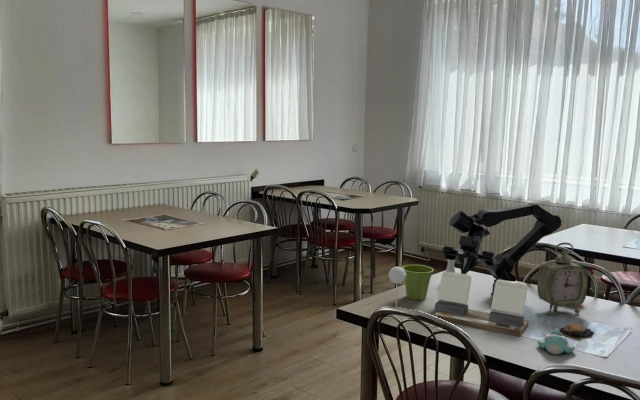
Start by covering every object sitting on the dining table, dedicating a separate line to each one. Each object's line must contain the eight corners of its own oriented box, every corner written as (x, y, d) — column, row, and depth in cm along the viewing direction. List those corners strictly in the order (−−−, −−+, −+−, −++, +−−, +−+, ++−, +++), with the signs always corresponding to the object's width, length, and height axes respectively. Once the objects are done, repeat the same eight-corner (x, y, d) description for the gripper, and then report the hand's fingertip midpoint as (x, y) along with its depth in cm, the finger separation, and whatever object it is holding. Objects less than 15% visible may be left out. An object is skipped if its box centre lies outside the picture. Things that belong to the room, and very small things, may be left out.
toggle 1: (438, 299, 201) (444, 271, 203) (467, 305, 196) (472, 275, 198) (436, 298, 199) (442, 270, 202) (465, 304, 194) (470, 274, 196)
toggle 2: (492, 309, 192) (497, 279, 194) (523, 315, 186) (528, 284, 189) (490, 308, 190) (495, 278, 192) (522, 314, 185) (527, 283, 187)
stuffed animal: (578, 328, 174) (576, 333, 163) (576, 352, 173) (573, 359, 163) (540, 322, 178) (535, 327, 168) (538, 345, 178) (533, 351, 168)
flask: (460, 286, 234) (462, 261, 232) (442, 285, 234) (443, 261, 232) (456, 281, 241) (458, 257, 239) (439, 280, 241) (440, 257, 239)
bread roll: (578, 343, 178) (579, 331, 177) (554, 334, 185) (554, 323, 184) (598, 336, 183) (599, 325, 183) (573, 327, 190) (574, 316, 190)
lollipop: (406, 306, 207) (408, 266, 205) (402, 311, 202) (403, 269, 199) (390, 304, 209) (391, 263, 207) (385, 309, 204) (386, 267, 202)
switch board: (440, 308, 206) (441, 296, 206) (528, 324, 191) (529, 312, 190) (428, 317, 196) (429, 305, 195) (520, 336, 181) (520, 323, 180)
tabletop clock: (547, 317, 198) (553, 245, 195) (532, 308, 207) (537, 240, 203) (585, 315, 201) (591, 244, 198) (568, 306, 210) (574, 239, 206)
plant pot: (429, 304, 210) (430, 274, 209) (397, 300, 214) (398, 270, 213) (434, 294, 221) (436, 266, 220) (404, 291, 225) (405, 263, 224)
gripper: (444, 224, 214) (432, 259, 206) (495, 229, 204) (484, 267, 196) (451, 241, 222) (439, 275, 214) (500, 247, 212) (489, 284, 204)
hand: (462, 275), depth 207 cm, fingers closed
